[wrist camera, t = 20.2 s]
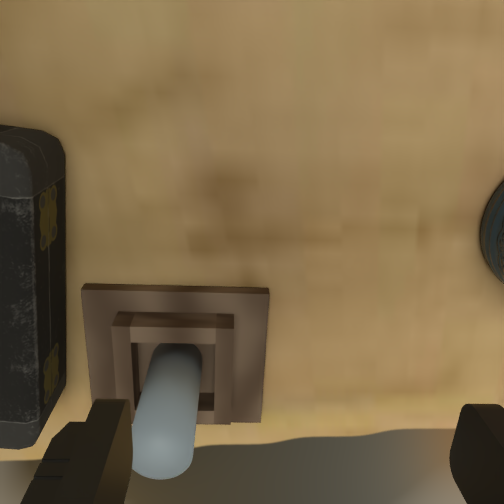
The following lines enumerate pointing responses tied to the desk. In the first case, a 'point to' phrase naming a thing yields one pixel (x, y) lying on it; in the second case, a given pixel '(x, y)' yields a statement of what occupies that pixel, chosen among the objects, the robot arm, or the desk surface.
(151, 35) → the desk surface
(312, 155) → the desk surface
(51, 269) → the cash box
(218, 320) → the holder
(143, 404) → the cylinder
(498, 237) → the canister
